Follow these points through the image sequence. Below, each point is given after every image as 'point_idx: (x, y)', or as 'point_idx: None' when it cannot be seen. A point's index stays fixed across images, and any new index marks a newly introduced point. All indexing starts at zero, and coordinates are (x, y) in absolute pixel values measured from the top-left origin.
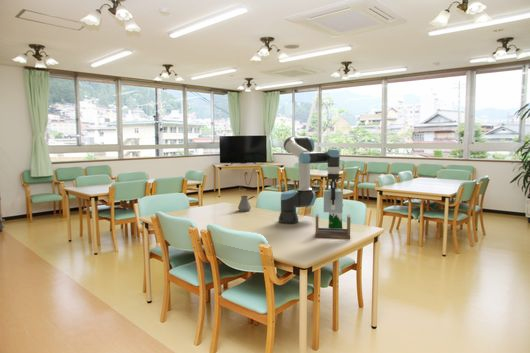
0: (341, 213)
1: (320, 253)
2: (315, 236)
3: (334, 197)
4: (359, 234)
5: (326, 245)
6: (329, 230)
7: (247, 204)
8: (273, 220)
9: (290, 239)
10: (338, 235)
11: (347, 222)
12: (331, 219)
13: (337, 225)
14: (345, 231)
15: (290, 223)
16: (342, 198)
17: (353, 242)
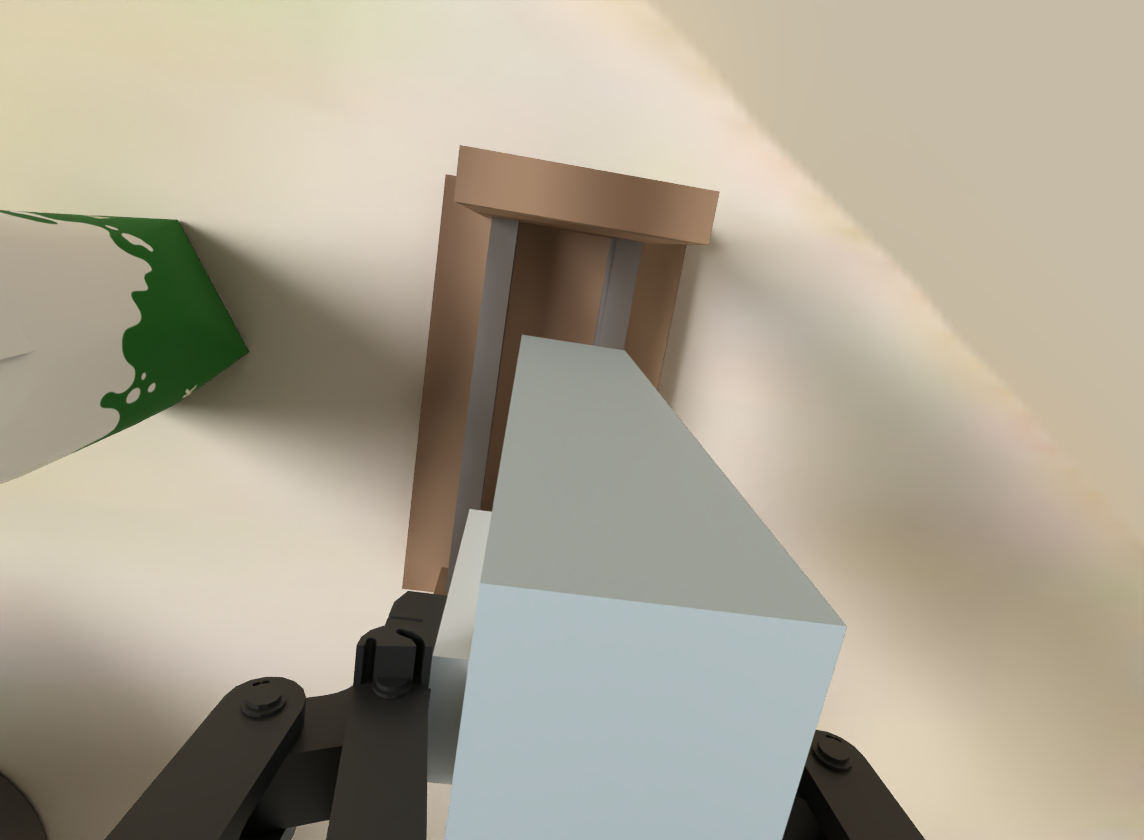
0: (41, 239)
1: (1105, 598)
2: None
3: (884, 815)
4: (481, 34)
5: (891, 521)
6: None
7: None
8: None
9: None
10: (634, 359)
11: (571, 226)
12: (154, 410)
13: (205, 303)
14: (636, 271)
15: (37, 823)
16: (706, 455)
17: (829, 211)
